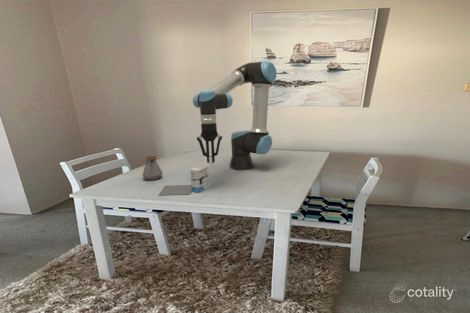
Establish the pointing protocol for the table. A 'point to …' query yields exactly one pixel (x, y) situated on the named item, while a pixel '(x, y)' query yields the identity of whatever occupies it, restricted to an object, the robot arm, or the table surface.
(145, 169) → the coffee pot
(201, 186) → the ink box
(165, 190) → the mat
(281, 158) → the table surface
